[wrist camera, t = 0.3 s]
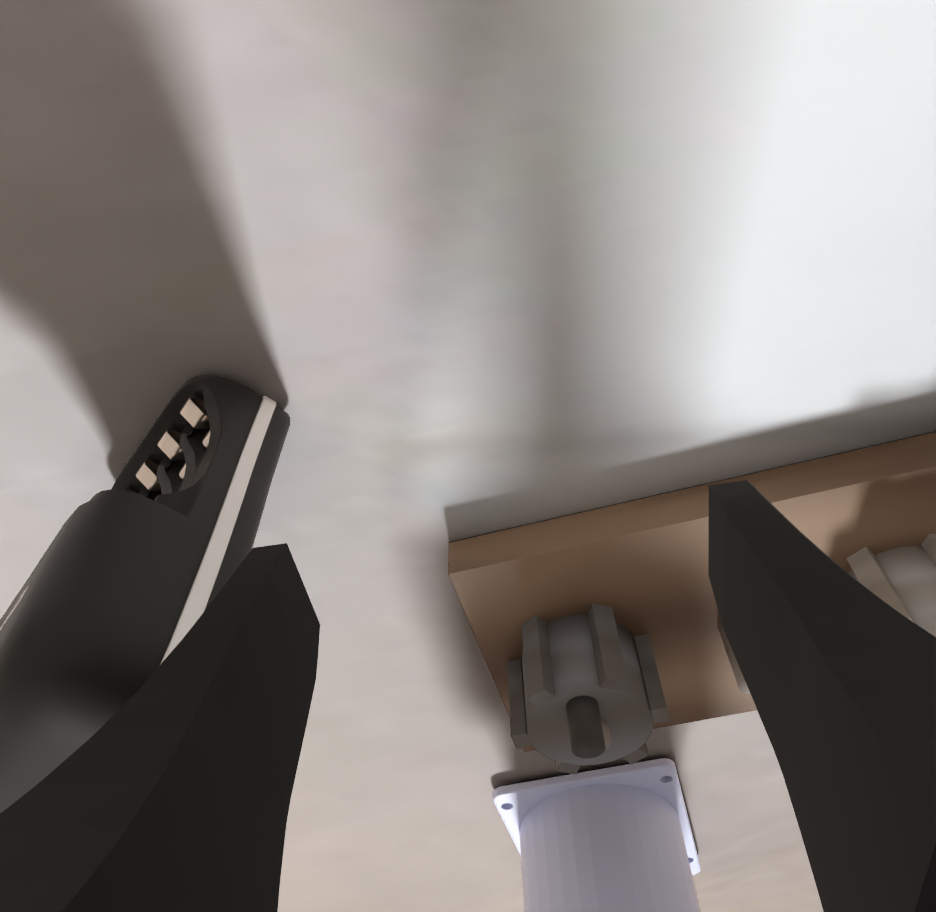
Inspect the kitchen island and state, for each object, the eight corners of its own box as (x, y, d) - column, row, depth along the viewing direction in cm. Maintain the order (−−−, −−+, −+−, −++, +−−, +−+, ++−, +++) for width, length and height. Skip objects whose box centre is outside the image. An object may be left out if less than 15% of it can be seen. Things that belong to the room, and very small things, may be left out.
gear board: (966, 636, 30) (1065, 784, 25) (522, 719, 32) (533, 867, 27) (988, 419, 24) (1122, 556, 19) (448, 542, 27) (446, 689, 22)
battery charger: (184, 332, 22) (-17, 657, 13) (301, 405, 24) (197, 745, 14) (81, 488, 25) (-139, 838, 16) (191, 543, 27) (46, 895, 17)
